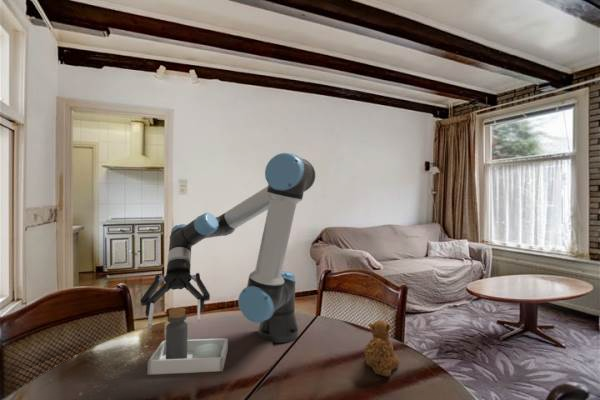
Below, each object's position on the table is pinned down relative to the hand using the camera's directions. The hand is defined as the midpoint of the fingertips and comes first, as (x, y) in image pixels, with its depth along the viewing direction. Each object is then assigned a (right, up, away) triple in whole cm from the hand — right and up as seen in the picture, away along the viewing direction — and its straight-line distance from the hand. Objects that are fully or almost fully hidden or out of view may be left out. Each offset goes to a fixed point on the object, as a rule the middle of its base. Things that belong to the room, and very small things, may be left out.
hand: (174, 323), depth 92 cm
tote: (+5, -12, -1) cm, 13 cm away
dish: (+10, -11, 0) cm, 14 cm away
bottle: (+1, -11, -1) cm, 11 cm away
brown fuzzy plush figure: (+61, -13, -1) cm, 63 cm away
